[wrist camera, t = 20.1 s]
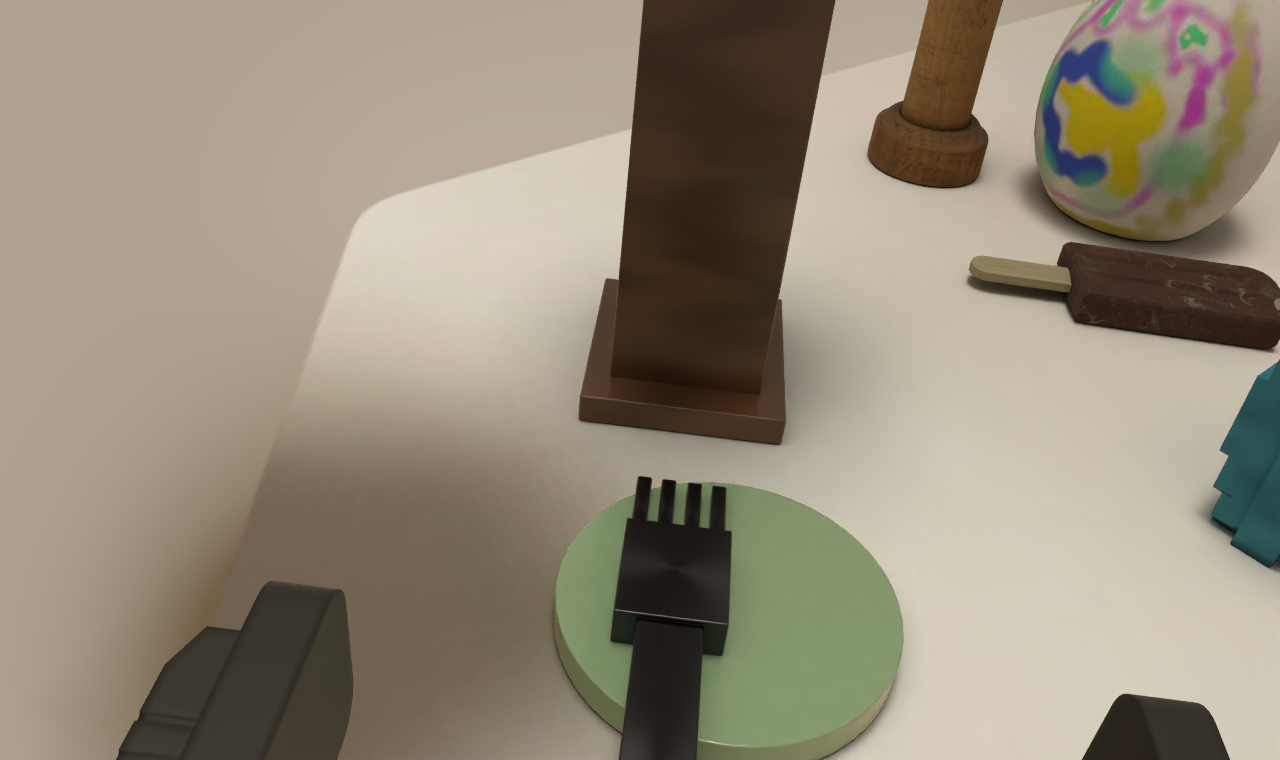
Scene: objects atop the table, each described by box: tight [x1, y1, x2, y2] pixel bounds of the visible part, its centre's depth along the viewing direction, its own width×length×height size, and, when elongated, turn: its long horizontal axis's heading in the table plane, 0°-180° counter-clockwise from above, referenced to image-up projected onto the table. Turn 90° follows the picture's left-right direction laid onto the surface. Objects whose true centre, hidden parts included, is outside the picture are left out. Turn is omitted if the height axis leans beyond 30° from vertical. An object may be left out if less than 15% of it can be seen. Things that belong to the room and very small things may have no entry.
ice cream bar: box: [969, 242, 1280, 349], centre depth 54 cm, size 5×2×15 cm
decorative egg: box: [1034, 0, 1280, 241], centre depth 59 cm, size 12×12×15 cm
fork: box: [610, 476, 732, 760], centre depth 31 cm, size 3×18×1 cm, turn 175°
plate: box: [553, 482, 904, 760], centre depth 35 cm, size 11×11×1 cm
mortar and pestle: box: [868, 0, 1003, 187], centre depth 61 cm, size 7×6×18 cm
